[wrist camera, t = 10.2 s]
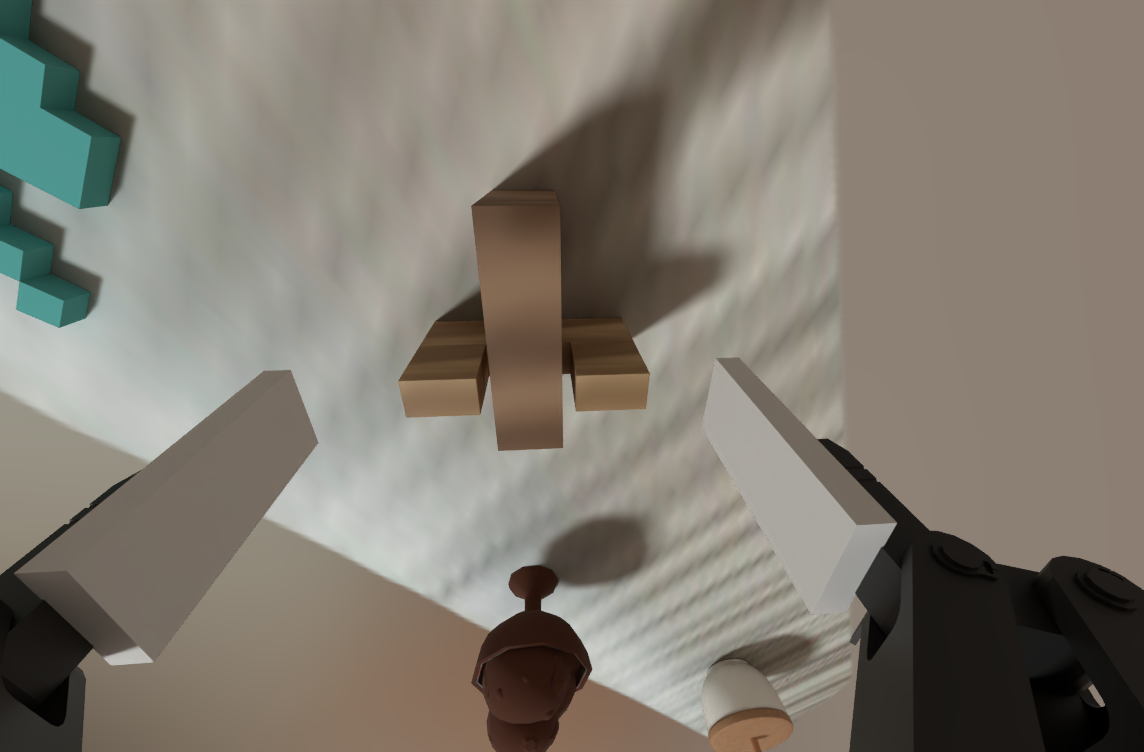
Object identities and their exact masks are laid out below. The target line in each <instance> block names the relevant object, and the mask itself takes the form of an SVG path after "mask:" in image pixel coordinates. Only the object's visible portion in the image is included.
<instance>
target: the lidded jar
mask: <svg viewBox="0 0 1144 752" xmlns="http://www.w3.org/2000/svg"><path fill="white" fill-rule="evenodd" d="M701 701H702V710H703V715H704V720H705V724H706V728H707V731H708V737H709V741H710V745H711V747H712V748H713V749H714V750H715V751H717V752H762V751H765V750H768V749H770V748H773V747H775V746H777V745H778V744H781V743H782V742H784V741H785V740H786V739H787V738H788V737H789V736H790V735H791V734H792V732H793V724H792V721H791V719H790V717H789V716H788V714H787V713H786V710H785V708H784V706H783V704H782V702H781V700H780V698H779V696H778V694H777V692H776V691H775V689H774V688H773V686H772V685H771V683H770V682H769V681H768V679H767V678H766V677H765V676H764V675H763V674H762V673H761V672H760V671H758V670H757V669H755V668H754V667H752V666H750V665H748V663H747V662H746V661H744V660H741V659H727V660H723V661H720V662H717V663H715V664H714V665H712V666H711V667H710V668H709V669H708V671H707V677H706V679H705V681H704V683H703V687H702V693H701Z"/></svg>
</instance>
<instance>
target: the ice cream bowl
mask: <svg viewBox="0 0 1144 752" xmlns="http://www.w3.org/2000/svg"><path fill="white" fill-rule="evenodd" d="M557 581H558V578H557V577H556V575H555V574H554V572H553V571H552V570H550V569H547V568H544V567H541V566H529V567H522V568H521V569H519V570H517V571H516V572H514V573H513V574H511V577H510V581H509V588H510V590H511V591H512V592H513V593H514V595H515V596H516V597H519V598H522V599H525V611H523V612H520V613H518V614H516V615H514V616H513V617H511V618H509V619H507V620H506V621H504V622H502V623H501V624H499V625H498V626H497V627H496V628H495V629H494V630H492V631H491V632H490V633H489V634H488V636H487V637H486V639H485V641H484V643H483V645H482V647H481V651H480V654H479V657H478V660H477V664H476V668H475V671H474V675H473V679H472V682H471V683H472V684H473V685H474V686H475V687H476V688H477V689H478V690H479V691H480V692H482V693H483V695H484V698H485V700H486V703H487V705H488V708H489V714H488V718H487V731H488V737H489V740H490V742H491V744H492V747H493V748H494V749H495V751H496V752H546V750H547V749H548V748H549V746H550V745H552V743H553V741H554V739H555V737H556V735H557V732H558V729H559V723H558V719H559V718H560V717H561V716H562V714H563V713H564V712H565V711H566V710H567V708H568V706H569V704H570V702H571V700H572V698H573V695H574V693H575V692H576V691H578V690H580V689H582V688H583V686H584V684H585V682H586V681H587V679H588V677H589V675H590V673H591V671H592V667H591V663H590V660H589V656H588V653H587V651H586V649H585V647H584V645H583V643H582V642H581V640H580V638H579V637H578V636H577V634H576V633H575V631H574V630H573V629H572V627H571V626H570V625H569V624H568V623H567V622H566V621H564V620H563V619H562V618H561V617H558V616H556V615H553V614H550V613H547V612H543V611H541V599H543V598H545V597H547V596H548V595H550V594H552V593H553V592H554V589H555V587H556V584H557Z"/></svg>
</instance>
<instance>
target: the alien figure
mask: <svg viewBox="0 0 1144 752" xmlns="http://www.w3.org/2000/svg"><path fill="white" fill-rule="evenodd" d="M31 9H32V0H0V169H2V170H4V171H6V172H8V173H10V174H12V175H14V176H15V177H17V178H19V179H21V180H23V181H25V182H27V183H29V184H31V185H33V186H35V187H37V188H39V189H41V190H43V191H45V192H47V193H49V194H51V195H53V196H55V197H57V198H59V199H61V200H63V201H65V202H67V203H69V204H71V205H72V206H74V207H76V208H78V209H83V208H91V207H99V206H108V202H109V197H110V192H111V186H112V181H113V176H114V171H115V166H116V161H117V156H118V151H119V146H120V141H121V137H119V136H117V135H115V134H114V133H112V132H110V131H109V130H107V129H105V128H103V127H102V126H100V125H98V124H96V123H95V122H93V121H91V120H89V119H88V118H86V117H84V116H82V115H81V114H79V113H77V112H75V111H74V109H75V102H76V95H77V88H78V82H79V75H80V71H79V70H77V69H76V68H74V67H72V66H71V65H69V64H67V63H66V62H64V61H63V60H61V59H59V58H58V57H56V56H54V55H53V54H51V53H49V52H48V51H46V50H44V49H43V48H41V47H39V46H38V45H36V44H34V43H33V42H31V41H29V40H28V39H29V29H30V19H31ZM12 198H13V192H12V191H10V190H8V189H6V188H4V187H2V186H0V273H2V274H4V275H6V276H9V277H11V278H13V279H15V280H18V281H20V282H19V290H18V299H17V307H16V310H18V311H20V312H23V313H25V314H28V315H30V316H32V317H35V318H37V319H39V320H42V321H44V322H46V323H49V324H51V325H54V326H56V327H58V328H60V327H63V326H66V325H68V324H71V323H74V322H77V321H79V320H82V319H85V318H86V314H87V309H88V304H89V299H90V293H91V292H89V291H86V290H84V289H82V288H80V287H78V286H75V285H73V284H71V283H69V282H67V281H64V280H62V279H60V278H58V277H56V276H54V275H51V274H50V270H51V263H52V257H53V250H54V245H53V244H51V243H48V242H46V241H44V240H42V239H40V238H38V237H36V236H34V235H32V234H30V233H27V232H25V231H23V230H21V229H19V228H17V227H15V226H13V225H11V224H10V218H11V208H12Z"/></svg>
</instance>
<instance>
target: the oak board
mask: <svg viewBox="0 0 1144 752" xmlns="http://www.w3.org/2000/svg"><path fill="white" fill-rule="evenodd" d="M561 323H562V374H571V380H572V387H573V394H574V401H575V408H576V411H600V410H627V409H646V403H647V394H648V385H649V376H650V373H649V371H648V369H647V367H646V365H645V363H644V361H643V359H642V357H641V355H640V353H639V351H638V349H637V347H636V345H635V343H634V341H633V339H632V337H631V335H630V333H629V332H628V330H627V328H626V326H625V324H624V322H623V320H622V318H582V319H561ZM489 376H490V371H489V362H488V353H487V344H486V335H485V326H484V321H439V322H434V324H433V326H432V327H431V329H430V330H429V332H428V334H427V335H426V337H425V338H424V340H423V342H422V343H421V345H420V347H419V348H418V350H417V351H416V353H415V355H414V356H413V358H412V360H411V361H410V363H409V364H408V366H407V368H406V369H405V371H404V372H403V374H402V376H401V377H400V379H399V381H398V383H399V387H400V392H401V396H402V400H403V405H404V409H405V413H406V417H434V416H461V415H480V414H481V409H482V405H483V400H484V396H485V391H486V387H487V383H488V378H489Z"/></svg>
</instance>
